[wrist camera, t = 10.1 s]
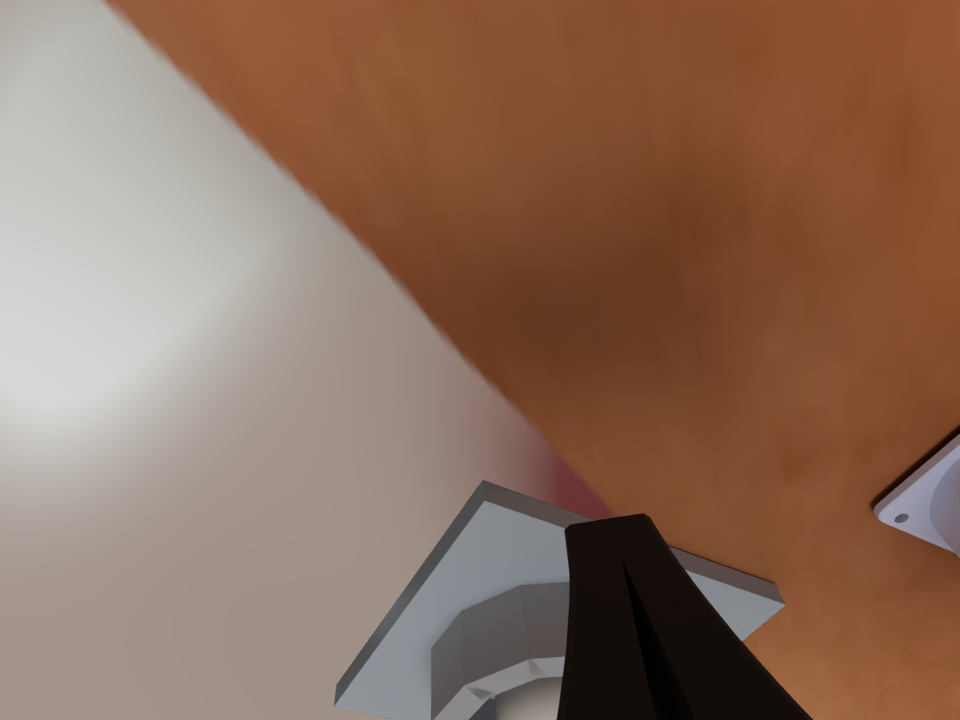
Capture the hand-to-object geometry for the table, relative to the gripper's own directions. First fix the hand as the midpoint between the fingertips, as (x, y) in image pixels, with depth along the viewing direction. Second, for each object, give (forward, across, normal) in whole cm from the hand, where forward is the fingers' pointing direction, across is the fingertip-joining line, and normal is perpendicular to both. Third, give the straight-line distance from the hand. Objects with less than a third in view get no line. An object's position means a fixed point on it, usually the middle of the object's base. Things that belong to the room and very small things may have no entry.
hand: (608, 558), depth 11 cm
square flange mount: (+9, +1, +17) cm, 19 cm away
